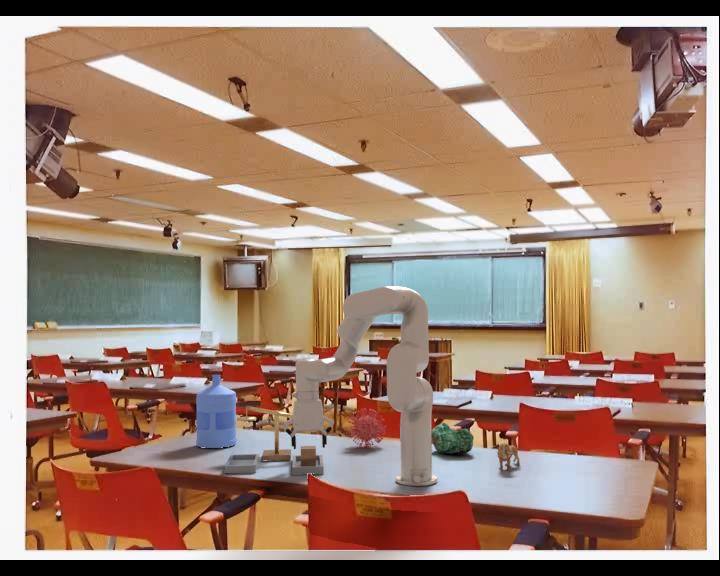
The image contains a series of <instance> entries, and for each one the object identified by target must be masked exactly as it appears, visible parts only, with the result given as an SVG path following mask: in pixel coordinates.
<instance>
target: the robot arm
mask: <svg viewBox="0 0 720 576" xmlns="http://www.w3.org/2000/svg"><path fill="white" fill-rule="evenodd" d="M342 311H343V315H344V318H343V319H342V320H341V322H340V324H339V326H338V327H337V330H336V333H337V335H338V336H339V338H340V343H339V346H338V347H337V350H336V351H335V353H334V354H333V355H332V357H327V358H320V359H313V358H306V359H304V358H302V359H299V360H297V361H296V362H295V387H296V388H295V392H293V393H291V397H292V398H295V399H296V400H294V401H293V410H292V411H293V413H292V414H293V418H289V419H288V420H286V421H284V422H283V423H282V427H283V429H284V430H285V432H286V434H288V435H289V436H290V437H291V440H290V441H291V447H293V450H296V449H297V438H296V434H297V433H298V432H297V431H315V432H317V431H320V432H321V433H322V435H321V439H322V440H321V445H322V448H325V447H326V446H325V445H327V443H328V441H327V437H328V436H327V435H328V434H329V433H330V432H331V431H332V429H333V427H334V424H335V420H332V419H331V418H328V417H326V416H324V409H323V402H322V399H321V398H320V392H319V383H325V382H331V381H337V380H339V379H341V378H343V377H344V376H346V374H347V373H348V371H349V370H350V368H351V367H352V365H353V364H354V363H355V360H356V359H357V357H358V356H357V355H358V352H359V347H360V343H361V341H362V339H363V338H364V336H365V335H366V334H367V332H368V330H369V329H370V327H371V326H372V324H373V323H374V321H375V320H376V318H377V317H379V316H385V315H401V316H402V320H401V325H400V343H398V344H396V345H394V346H392V348H391V349H390V350H389V352H388V355H387V358H386V395H387V400H388V403H389V405H390V407H392V409H393V410H395V411H396V412H399V413H400V422H399V428H400V429H399V431H400V434H399V435H400V437H399V438H400V440H399V442H400V444H399V445H400V446H399V447H400V474H399V475H396V476H395V481H396V483H398V484H399V485H403V486H410V487H411V486H412V487H421V486H422V487H423V486H425V487H426V486H431V485H434V484H436V483H437V482H438V476H436V475H435V474H433V460H432V459H433V458H432V457H433V453H432V452H433V450H432V448H433V447H432V444H433V441H432V437H431V430H432V410H433V402H434V391H433V387H432V385H431V384H430V382H429V381H428V380H427V379H425V378H423V377H420V376H418V375H417V374H418V373H420V372H423V371H425V369H427V367H428V365H429V362H430V355H429V353H430V350H429V349H430V348H429V342H430V340H429V339H430V338H429V309H428V305H427V303H426V300H425V298H424V297H423V296H422V294H420V293H419V292H418V291H416V290H414V289H412V288H408V287H405V286H391V285H389V286H387V285H386V286H379V287H376V288H372V289H367V290H364V291H363V290H362V291H358V292H355V293H354V292H353V293H352V294H349V295H348V296H347V297H346V298H345V300H344V302H343V305H342ZM325 423H328V426H327V427H326V428H324V427H325ZM291 424H292V427H293V429H292V430H291V429H290V428H289V425H291ZM325 449H326V448H325Z"/></svg>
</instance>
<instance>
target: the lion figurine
mask: <svg viewBox="0 0 720 576" xmlns="http://www.w3.org/2000/svg"><path fill="white" fill-rule="evenodd" d="M496 453H497V458H498V460H499V462H498V463H499V466H500V467H499V468H498V470H500V469H501V470H504V466H503V462H506V463H505V464H504V465H505V466H506V469H507V471H512V468H511V458H512V457H513V456H514V457H513V463H515V462H516V463H515V465H517V466H520V465H521V463H520V457H519V454H518V449H517V447H516V446H515V445H512V444H511V445H510V444H509V443H506V442H503V443H501V444H499V446H498V448H497V452H496ZM501 470H500V471H501Z"/></svg>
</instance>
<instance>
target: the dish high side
mask: <svg viewBox="0 0 720 576" xmlns="http://www.w3.org/2000/svg"><path fill="white" fill-rule="evenodd" d="M258 463H259V464H260V453H244V454H242V453H241V454H240V453H239V454H238V453H237V454H230V455H229V458H228V459H227V461H226V463H225V465H224V474H225V473H239V474H256V473H257V470H258V466H259V464H258Z"/></svg>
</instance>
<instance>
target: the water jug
mask: <svg viewBox="0 0 720 576" xmlns="http://www.w3.org/2000/svg"><path fill="white" fill-rule="evenodd" d="M211 380H212V384H211V385H210V386H208V387H207V388H204V389H203V390H201V391H199V392H197V393H196V398H195V401H196V402H195V404H196V419H195V422H196V424H195V425H196V441H195V443H196V446H197V447H198V446H199V447H205V448H221V447H228V446H232V447H234V446H236V444H237V405H236V404H237V392H236V391H234V390H232V389H231V388H227V387H226V386H224V385H222V384H221V374H212V379H211ZM233 445H234V446H233ZM199 447H198V448H199ZM228 448H229V447H228Z"/></svg>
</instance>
